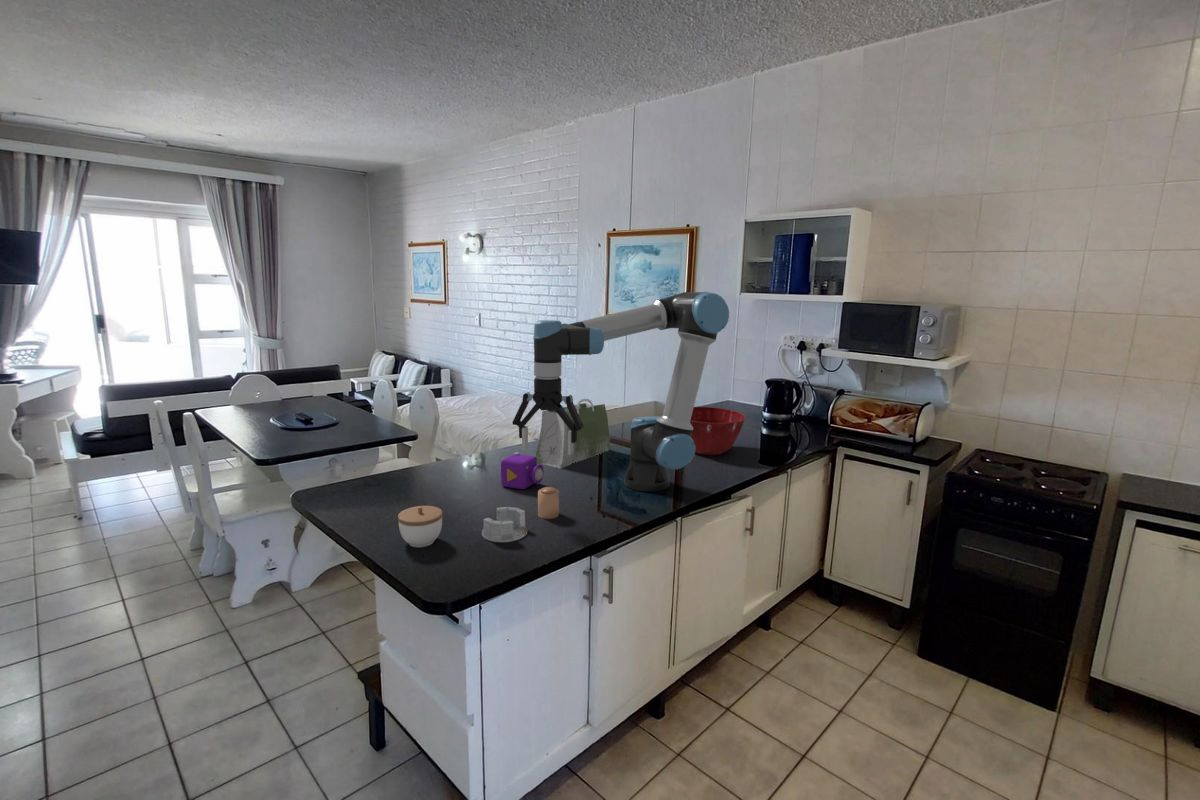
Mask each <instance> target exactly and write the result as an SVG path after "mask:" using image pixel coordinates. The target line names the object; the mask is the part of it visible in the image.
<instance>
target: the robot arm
mask: <svg viewBox="0 0 1200 800" xmlns="http://www.w3.org/2000/svg"><path fill="white" fill-rule="evenodd" d="M729 309H730V308H729V306H728V304H727V302H726V300H725V299H724V298H723V297H722V296H721V295H719V294H717V293H714V292H708V291H684V292H681V293H680V292H679V293H677V294H673V295H670V296H668V297H664V298H659V299H656V300H654V301H653V302H652V304H647V305H645V306H640V307H637V308H631V309H627V310H623V311H619V312H615V313H611V314H607V315H602V316H597V317H593V318H588V319H584V320H581V321H576V322H572V323H562V321H560V320H553V319H552V320H551V319H550V320H549V319H541V320H537V321H535V322H534V327H533V353H534V354H533V355H534V356H533V358H534V359H533V376H534V379H533V391H534V392H533V393H530V392H529V391H527V392H525V393H523V395H522V401H521V403H520V405H519V408H518V409H517V412H516V414H515V415H514V418H513V420H512V422H511V424H512V425H515V426H516V427H518V437H519V439H521V446H522V447H521V450H522V451H524V452H525V451H526V450H528V449H529V426H527V425H526V424H528V422H529V421H530V420H531V419H532V418H533V416H534V415H536V413H537V412H538V411H539V410H541V411H546V410H548V411H553V410H554V411H555V412H556V413H558V415H559V416H560V417H561V419H562V420H563V421H564V422H565V424H566V425H567V426H568V428H569V429H570V431H569V432H568V455H571V454H572V453H573V443H575V442H576V441H577V431H578V430H581V429H582V428H583V427H584V425H583V423H582V421H581V419H580V417H579V415H578V412H577V410H576V408H575V406H574V405H575V403H574V399H573V398H574V397H573V395H571V394H569V395H567V396H566V395H562V378H561V376H562V362H563V359H562V356H570V355H571V356H575V355H578V356H581V355H582V356H583V355H585V356H586V355H589V356H591V355H599V354H601V352H603V350H604V347H605V342H606V341H611V340H613V339H618V338H622V337H627V336H629V335H630V336H631V335H635V334H638V333H643V332H647V331H650V330H651V331H652V330H655V329H658V330H660V331H663V330H668V329H678V330H677V335H678V336H679V338H680V344H679V346H678V347H679V348H678V351H677V355H676V359H675V363H674V367H673V371H672V375H671V380H670V384H669V388H668V392H667V395H666V400H665V405H664V408H663V413H662V415H661V416H659V415H657V416H656V415H655V416H653V415H652V416H651V415H650V416H639V417H637V416H636V417H634V418H633V419H632V421H631V426H630V457H629V458H630V461H629V464H628V466H627V469H626V471H625V473H624V474H625V475H624V481H623V482H624V486H626V487H627V488H629V489H631V490H635V491H638V492H639V491H640V492H661V491H663V490H666V489H668V488H669V487H670V480H671V478H670V475H669V472H668V470H674V471H676V470H680V469H683V468H684V467H685V466H688V465H689V464H690V462H691V461H692V460H693V459H694V457H695V454H696V453H695V444H694V441H693V439H692V438H691V436H692V432H693V427H692V425H691V423H690V420H691V416H692V412H693V408H694V407H695V404H696V401H697V400H696V398H697V395H698V392H699V387H700V384H701V379H702V375H703V371H704V367H705V363H706V359H707V355H708V352H709V351H708V350H709V348H710V346H711V344H713V343H715V342H716V340H717V336H718V333H720V332H721V331H722V330H724V329H725V328H726V326H727V325H728V323H729V319H730V310H729ZM532 400H533V402H534V403H535V404H534V405H533V406H532V407H531V409H530V411H529V412H528V413H527V414H526V415H525V416H524V414H525V411H526V409H527V407H528V405H529V403H530V401H532ZM562 400H563V401H562ZM563 402H564V404H565V405H566V407H567V408H568V410H569V412H570V414H571V416H572V419H573V421H574V422H573V421H572V420H571V418H570V417H569V416H568V414H567V413H566V412H565V410H564V409H563V406H562V404H561V403H563ZM523 416H524V417H523ZM522 417H523V418H522ZM521 419H522V420H521Z"/></svg>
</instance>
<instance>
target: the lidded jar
mask: <svg viewBox="0 0 1200 800" xmlns="http://www.w3.org/2000/svg"><path fill="white" fill-rule="evenodd" d="M443 515H444V514H443V510H442V509H441V508H440V507H437V506H434V505H418V506H417V505H416V506H411V507H409V508H406V509H404V510H401V511H400V512H399V513H398V515H397V520H398V528H399V532H400V536H401V538H402V539H403V540H404V541H405V543H407V544H408V545H409V546H410V547H413V548H424V547H428V546H430V545H432V544H433V543H434V542H435V540H436V539H437V538H439V536H440V534H441V531H442V526H443Z"/></svg>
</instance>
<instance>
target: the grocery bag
mask: <svg viewBox="0 0 1200 800" xmlns="http://www.w3.org/2000/svg"><path fill="white" fill-rule="evenodd" d="M562 402H564V401H563V400H562ZM584 402H585V403H584ZM587 402H588V403H589V404H588V403H587ZM574 406H575V408H576V410H577V412H578V415H579V417H580V419H581V421H582V423H583V425H584V427H583V428H582V429H581V430H578V431H577V441H576V442H575V443H573V453H572V454H571V455H568V432H569V431H570V429H569V428H568V426H567V425H566V424H565V422H564V421H563V420H562V419H561V417H560V416H559V415H558V413H556V412H555V411H554V410H553V411H548V410H544V411H543V410H541V411H542V412H541V427H540V433H539V436H538V437H539V439H538V443H537V450H536V453H535V457H536V459H537V465H539V464H540V465H542V466H543V465H544V466H549V467H552V468H556V467H557V469H560V468H562V469H563V468H566V467H569V466H570V465H572V463H573V464H576V463H579V462H581V461H580V460H582V461H584V460H583V459H585V460H587V458H588V459H590V457H591V458H594V457H597V456H596V455H598V456H600V455H603V454H604V452H605V453H607V452H608V451H611V440H610V429H609V420H608V413H607V408H606V404H605V403H603V404H593V401H592V400H590V399H589V398H583V399H579V400H578V402H577V404H574ZM562 407H563V406H562ZM563 409H564V410H565V412H566V413H567V414H568V416H569V417H570V418H571V420H572V421H573V419H572V416H571V414H570V412H569V410H568V408H567V406H565V407H563ZM573 422H574V421H573ZM606 451H607V452H606ZM602 453H603V454H602ZM599 454H600V455H599ZM593 456H594V457H593ZM578 461H579V462H578ZM575 462H576V463H575Z"/></svg>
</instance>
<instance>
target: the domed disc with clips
mask: <svg viewBox="0 0 1200 800" xmlns="http://www.w3.org/2000/svg"><path fill="white" fill-rule="evenodd" d="M527 535H528V527H527V526H526V511H525V510H523V509H521V508H519V507H514V506H513V507H511V506H501V507H500V506H499V507H496V520H494V519H492V518H491V517H486V518H483V528H482V530H481V537H482V538H483V539H484V540H486V541H488V542H491V543H497V544H499V543H500V544H505V543H513V542H516V541H517V542H518V541H520V540H522V539H524V538H525V537H526V536H527Z"/></svg>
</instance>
